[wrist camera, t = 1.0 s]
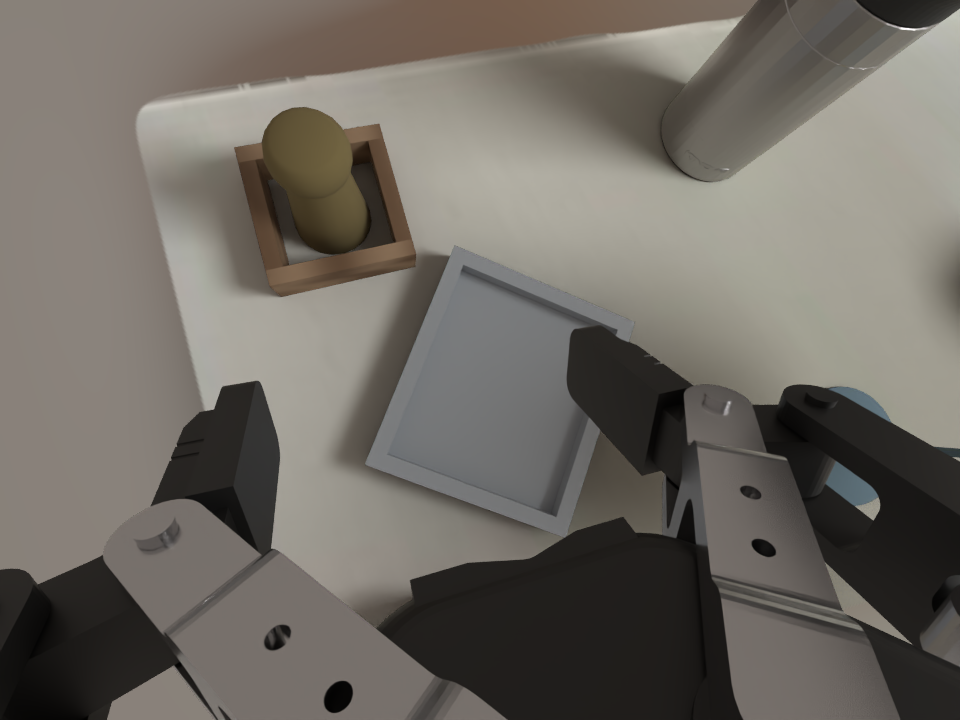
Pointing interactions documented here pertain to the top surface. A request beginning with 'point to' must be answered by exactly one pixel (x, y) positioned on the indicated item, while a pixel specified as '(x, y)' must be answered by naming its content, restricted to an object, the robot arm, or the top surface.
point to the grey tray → (494, 396)
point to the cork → (317, 179)
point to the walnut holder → (339, 267)
